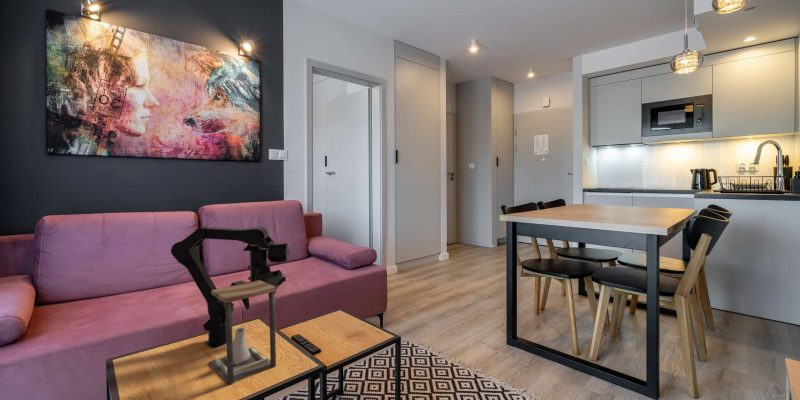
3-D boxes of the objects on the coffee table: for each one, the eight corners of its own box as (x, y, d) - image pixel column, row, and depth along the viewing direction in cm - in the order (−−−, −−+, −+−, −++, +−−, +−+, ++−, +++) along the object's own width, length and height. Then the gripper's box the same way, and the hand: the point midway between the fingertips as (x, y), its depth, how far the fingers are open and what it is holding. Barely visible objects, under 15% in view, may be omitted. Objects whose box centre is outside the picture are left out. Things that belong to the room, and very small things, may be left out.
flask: (236, 368, 112) (237, 339, 110) (220, 358, 115) (222, 330, 113) (255, 357, 118) (257, 329, 116) (240, 348, 121) (242, 321, 119)
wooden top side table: (206, 364, 115) (204, 286, 113) (253, 348, 126) (251, 276, 124) (228, 386, 103) (225, 299, 102) (277, 366, 114) (276, 287, 112)
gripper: (246, 271, 117) (247, 319, 118) (294, 261, 132) (295, 303, 133) (228, 266, 124) (229, 311, 125) (276, 256, 139) (277, 297, 140)
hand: (259, 305), depth 130 cm, fingers open, 9 cm apart
